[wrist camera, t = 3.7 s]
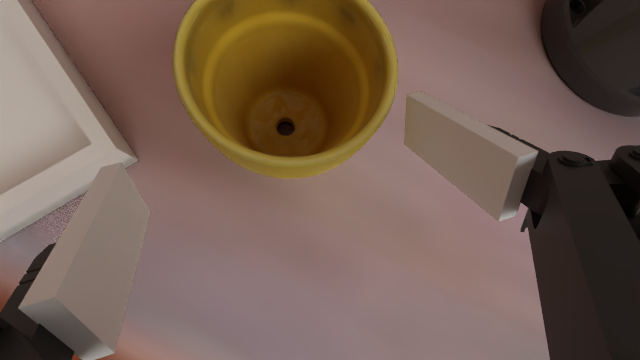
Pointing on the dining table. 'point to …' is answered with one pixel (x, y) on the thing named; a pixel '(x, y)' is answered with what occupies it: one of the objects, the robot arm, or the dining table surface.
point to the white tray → (46, 123)
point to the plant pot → (285, 80)
